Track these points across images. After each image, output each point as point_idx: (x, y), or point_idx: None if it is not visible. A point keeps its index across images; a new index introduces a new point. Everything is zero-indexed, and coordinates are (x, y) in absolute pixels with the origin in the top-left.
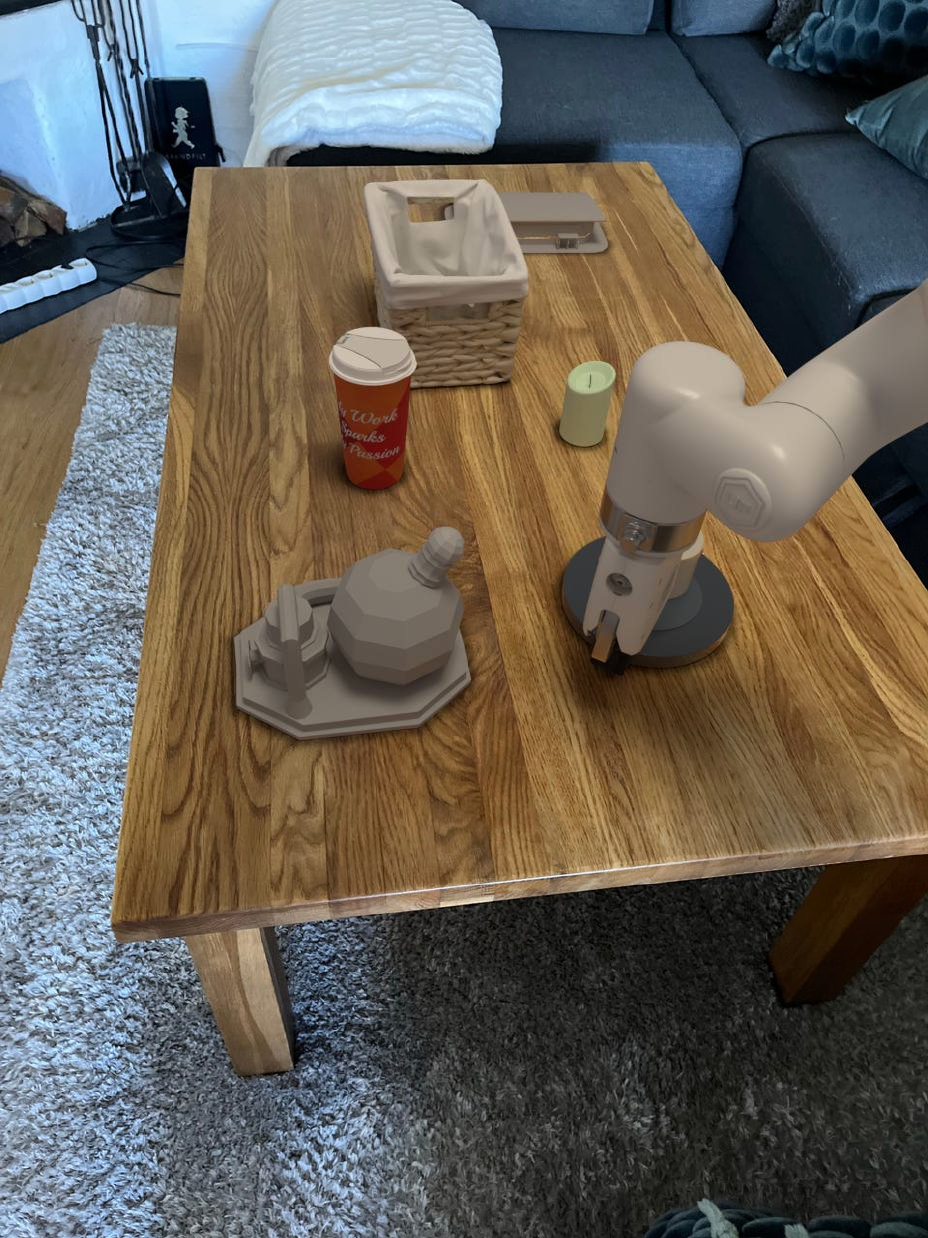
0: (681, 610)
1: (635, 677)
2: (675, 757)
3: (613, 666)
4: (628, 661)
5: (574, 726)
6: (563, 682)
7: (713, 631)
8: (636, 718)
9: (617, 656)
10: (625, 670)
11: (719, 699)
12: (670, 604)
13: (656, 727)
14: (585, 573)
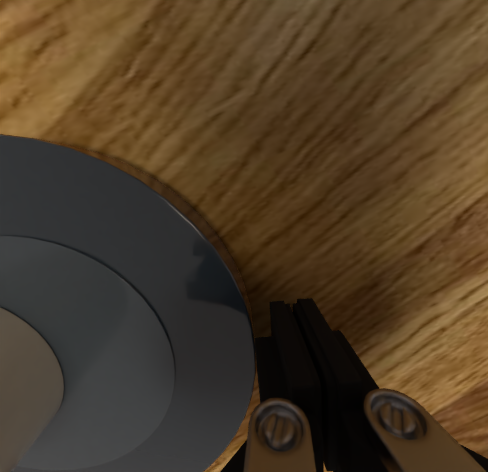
0: (31, 277)
1: (272, 267)
2: (441, 93)
3: (347, 343)
4: (286, 312)
5: (448, 308)
6: None
7: (29, 167)
8: (375, 218)
9: (371, 377)
10: (302, 302)
11: (217, 67)
12: (36, 308)
13: (378, 170)
14: None
